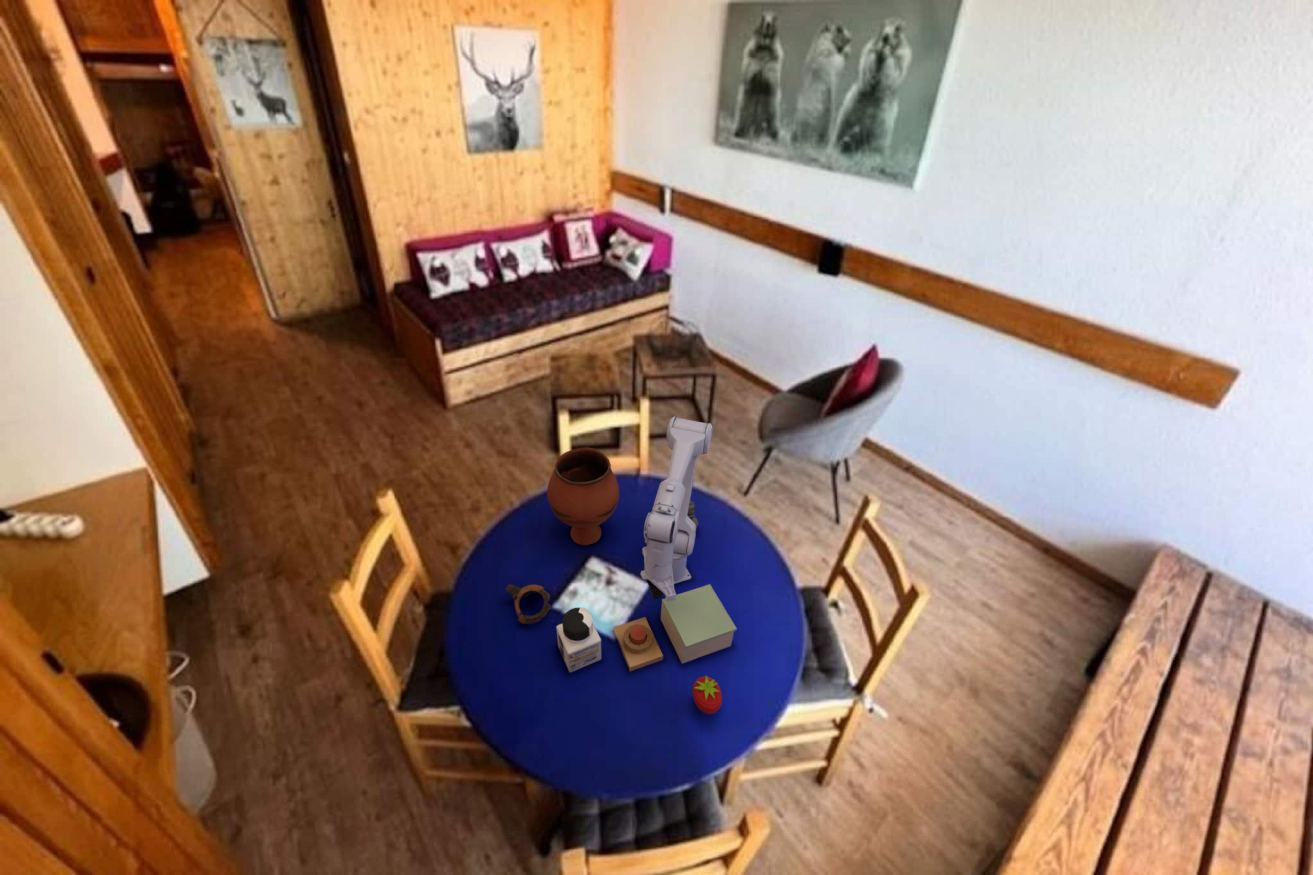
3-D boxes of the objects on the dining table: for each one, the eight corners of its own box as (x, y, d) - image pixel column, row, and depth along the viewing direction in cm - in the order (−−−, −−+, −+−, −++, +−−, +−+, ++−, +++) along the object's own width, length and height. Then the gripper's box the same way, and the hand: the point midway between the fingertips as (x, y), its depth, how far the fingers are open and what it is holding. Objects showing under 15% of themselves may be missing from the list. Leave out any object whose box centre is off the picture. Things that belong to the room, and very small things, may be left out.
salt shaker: (695, 540, 160) (699, 509, 153) (674, 536, 161) (677, 505, 154) (698, 525, 165) (702, 494, 157) (678, 521, 166) (681, 491, 158)
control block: (613, 631, 136) (613, 622, 134) (645, 621, 138) (645, 612, 136) (629, 671, 128) (629, 662, 126) (662, 659, 130) (663, 651, 128)
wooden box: (731, 646, 134) (734, 628, 130) (681, 663, 130) (684, 646, 126) (707, 603, 143) (709, 586, 139) (660, 619, 139) (661, 601, 135)
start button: (627, 633, 132) (627, 628, 131) (642, 628, 133) (642, 624, 132) (633, 646, 129) (633, 642, 128) (648, 641, 131) (648, 636, 130)
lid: (736, 630, 129) (736, 628, 129) (685, 648, 125) (685, 646, 125) (709, 586, 139) (710, 584, 139) (661, 601, 135) (661, 599, 135)
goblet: (582, 499, 171) (579, 432, 156) (633, 529, 163) (635, 460, 148) (536, 537, 158) (527, 468, 143) (589, 571, 150) (585, 501, 135)
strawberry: (697, 728, 118) (702, 703, 112) (685, 695, 124) (689, 669, 118) (724, 721, 120) (730, 696, 114) (711, 688, 126) (716, 662, 120)
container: (569, 673, 127) (566, 639, 119) (557, 645, 132) (554, 610, 124) (602, 659, 130) (601, 625, 122) (589, 632, 135) (587, 597, 127)
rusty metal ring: (559, 596, 144) (557, 592, 136) (540, 632, 140) (538, 630, 132) (516, 576, 144) (512, 570, 137) (496, 611, 141) (491, 608, 133)
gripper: (630, 537, 128) (629, 577, 136) (655, 587, 117) (652, 627, 125) (659, 529, 130) (657, 569, 138) (686, 577, 119) (682, 617, 127)
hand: (656, 596), depth 132 cm, fingers closed
